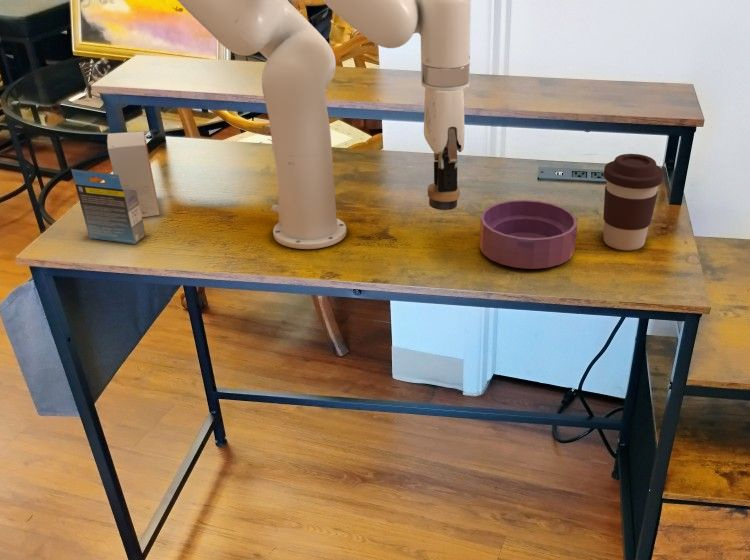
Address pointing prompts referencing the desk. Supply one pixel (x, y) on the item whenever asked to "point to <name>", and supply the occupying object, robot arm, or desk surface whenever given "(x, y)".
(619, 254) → the desk surface
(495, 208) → the bowl
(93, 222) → the blue retail box
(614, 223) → the coffee cup
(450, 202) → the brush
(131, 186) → the small box
